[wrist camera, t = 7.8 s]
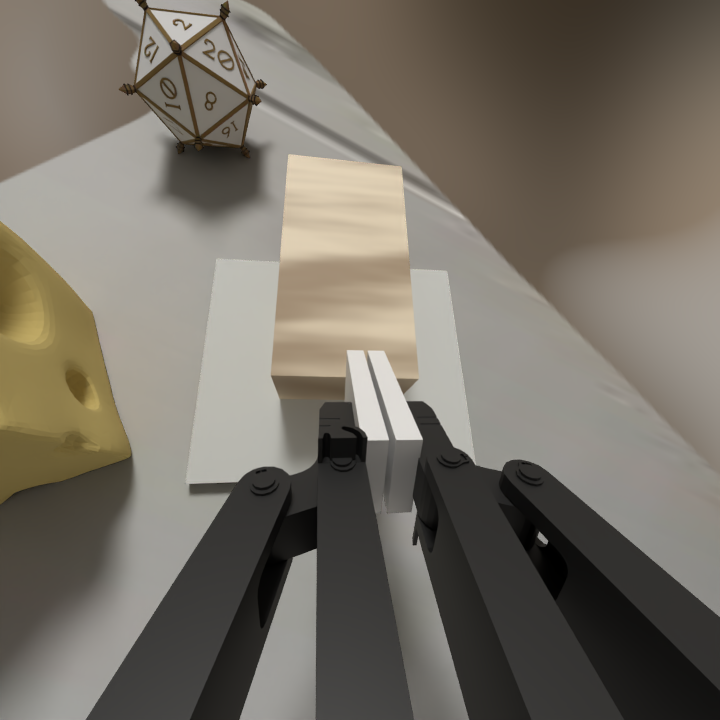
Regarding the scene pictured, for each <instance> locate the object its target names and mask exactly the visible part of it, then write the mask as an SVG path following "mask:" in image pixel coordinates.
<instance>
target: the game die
mask: <svg viewBox="0 0 720 720" xmlns="http://www.w3.org/2000/svg"><path fill="white" fill-rule="evenodd" d="M135 1H137V3H138V4H139V6H140V7H142V8H143V10H144V18H143V25H142V32H141V39H140V46H139V53H138V60H137V67H136V74H135V81H134V85H133V86H132V85H129V84H127V85H125V84H123V86H122V87H121V88H120V89H119V90H120V91H122V92H124V93H126V94H127V95H128V94H131V95H132V94H133V93H135V92H136V93H137V94H138V95H139V96H140V97H141V98H142V99H143V100H144V101H145V103H146V104H147V105H148V106H149V107H150V108H151V109H152V111H153V112H154V113H155V114H156V115H157V116H158V117H159V119H160V120H161V121H162V122H163V123H164V124H165V125H166V126H167V128H168V129H169V130H170V131H171V132H172V133H173V134H174V136H175V137H176V138H177V139H178V140H179V141H180V142H179V143H177V146H176V148H177V150H178V153H181V152H184V148H185V147H184V144H186V145H194V147H195V148H196V149H197V150H198V151H199V150H201V149H202V148H204V147H203V146H218V147H233V148H240V149H241V151H242V153H243V154H244V156H246V157H248V158H250V156H249V152H250V151H248V150H247V148H246V147H244V141H245V136H246V132H247V127H248V123H249V118H250V114H251V110H252V105H254V104H255V105H256V106H257V105H258V104H259V103H260V102H262V101H261V100H260V98H259V96H257V95H255V92H256V87H257V88H258V89H260V88H261V89H263V88H264V87H265V86H266V85H267V84H266V83H264V82H263V81H262V80H261V79H260V80H257V81H256V82H255V80H254V78H253V76H252V74H251V72H250V70H249V68H248V66H247V64H246V62H245V60H244V58H243V56H242V54H241V52H240V50H239V48H238V46H237V44H236V42H235V40H234V38H233V35H232V33H231V31H230V29H229V27H228V25H227V23H226V21H225V19H226V18H227V17H229V16H228V14H229V13H230V11H229V4H228V1H226V2H225V3H224V4H221V9H220V16H217V15H208V14H200V13H191V12H183V11H174V10H166V9H157V8H149V7H148V5H147V3H146V0H135Z"/></svg>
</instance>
